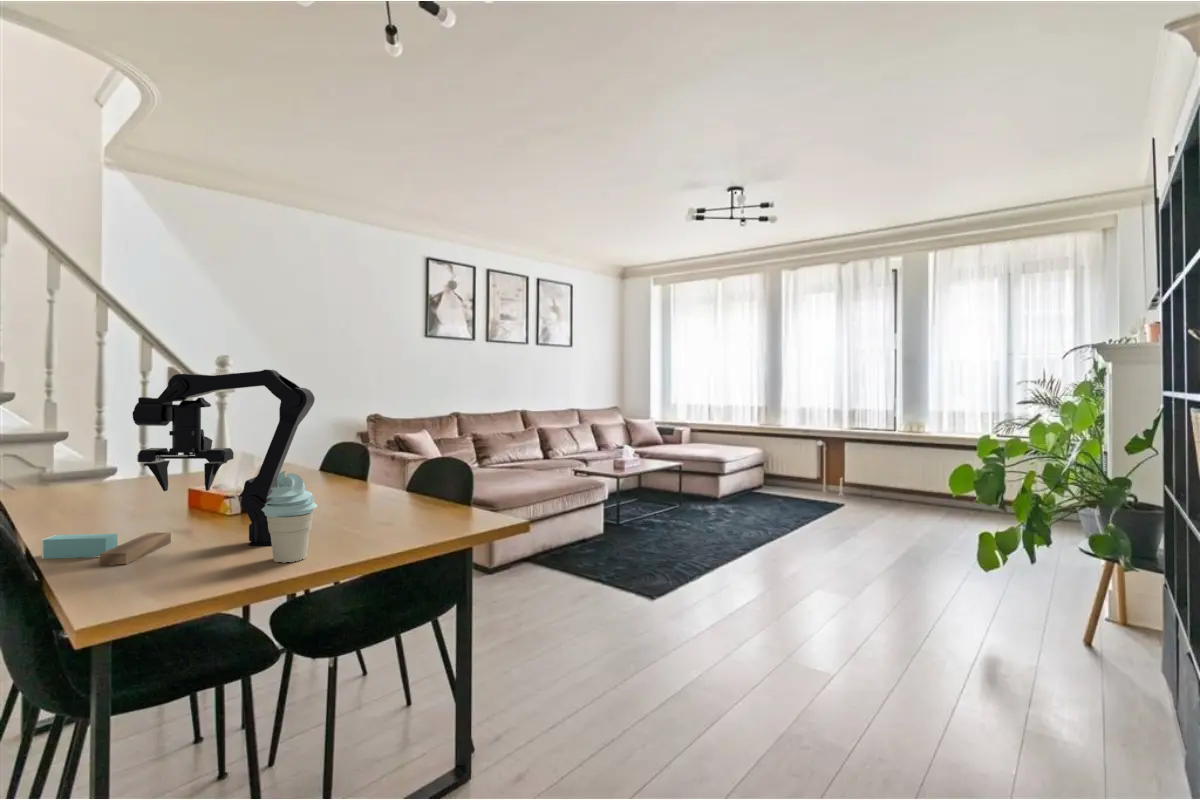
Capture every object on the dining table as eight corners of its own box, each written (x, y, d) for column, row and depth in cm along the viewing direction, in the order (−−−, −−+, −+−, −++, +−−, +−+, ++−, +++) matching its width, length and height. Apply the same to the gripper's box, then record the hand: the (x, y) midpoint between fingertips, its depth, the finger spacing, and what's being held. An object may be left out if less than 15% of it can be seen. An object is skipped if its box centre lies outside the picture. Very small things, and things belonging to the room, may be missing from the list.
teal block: (117, 533, 139) (55, 535, 137) (105, 538, 135) (41, 539, 133) (117, 551, 139) (55, 553, 137) (105, 556, 135) (41, 558, 133)
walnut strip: (170, 542, 147) (170, 532, 147) (126, 564, 130) (125, 553, 130) (148, 543, 147) (148, 532, 146) (99, 565, 129) (99, 553, 129)
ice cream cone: (318, 561, 134) (318, 471, 134) (261, 568, 129) (261, 474, 128) (316, 550, 143) (316, 466, 143) (262, 555, 138) (262, 468, 137)
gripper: (242, 423, 155) (242, 484, 155) (161, 423, 152) (162, 485, 152) (223, 427, 144) (223, 492, 144) (135, 426, 141) (136, 493, 141)
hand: (186, 490), depth 146 cm, fingers open, 9 cm apart
